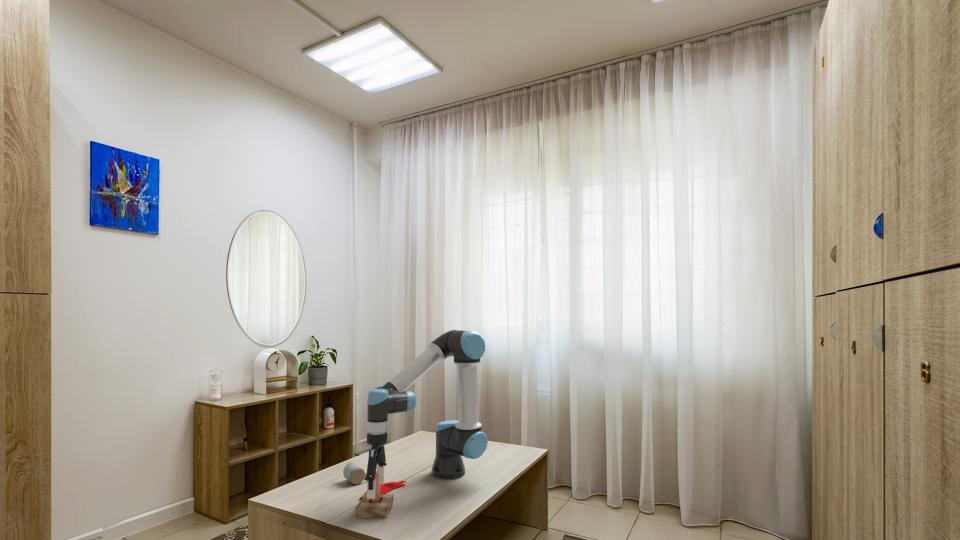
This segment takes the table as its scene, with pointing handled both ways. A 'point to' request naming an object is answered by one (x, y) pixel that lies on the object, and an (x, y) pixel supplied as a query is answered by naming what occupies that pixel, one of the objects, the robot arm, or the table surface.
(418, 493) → the table surface
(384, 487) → the cloth
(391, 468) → the table surface
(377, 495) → the dowel
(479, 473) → the table surface
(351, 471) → the ceramic mug
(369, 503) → the square frame
